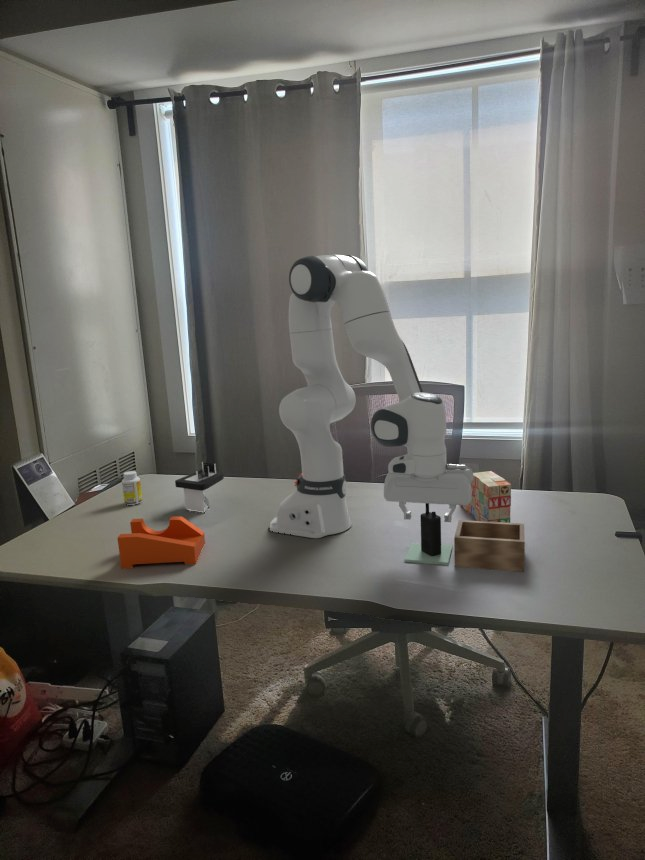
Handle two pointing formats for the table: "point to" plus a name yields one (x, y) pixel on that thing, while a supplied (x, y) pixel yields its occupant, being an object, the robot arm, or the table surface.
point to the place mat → (421, 557)
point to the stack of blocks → (490, 498)
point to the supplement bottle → (131, 488)
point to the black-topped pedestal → (198, 486)
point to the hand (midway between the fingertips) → (427, 520)
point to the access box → (489, 545)
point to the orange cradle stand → (161, 543)
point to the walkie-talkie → (430, 533)
